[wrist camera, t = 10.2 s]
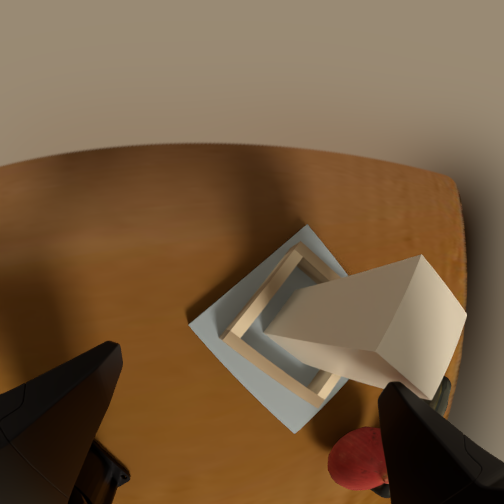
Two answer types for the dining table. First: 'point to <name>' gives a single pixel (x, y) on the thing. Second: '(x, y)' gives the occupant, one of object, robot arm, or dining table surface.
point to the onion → (359, 460)
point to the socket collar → (244, 319)
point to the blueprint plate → (256, 381)
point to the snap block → (375, 326)
